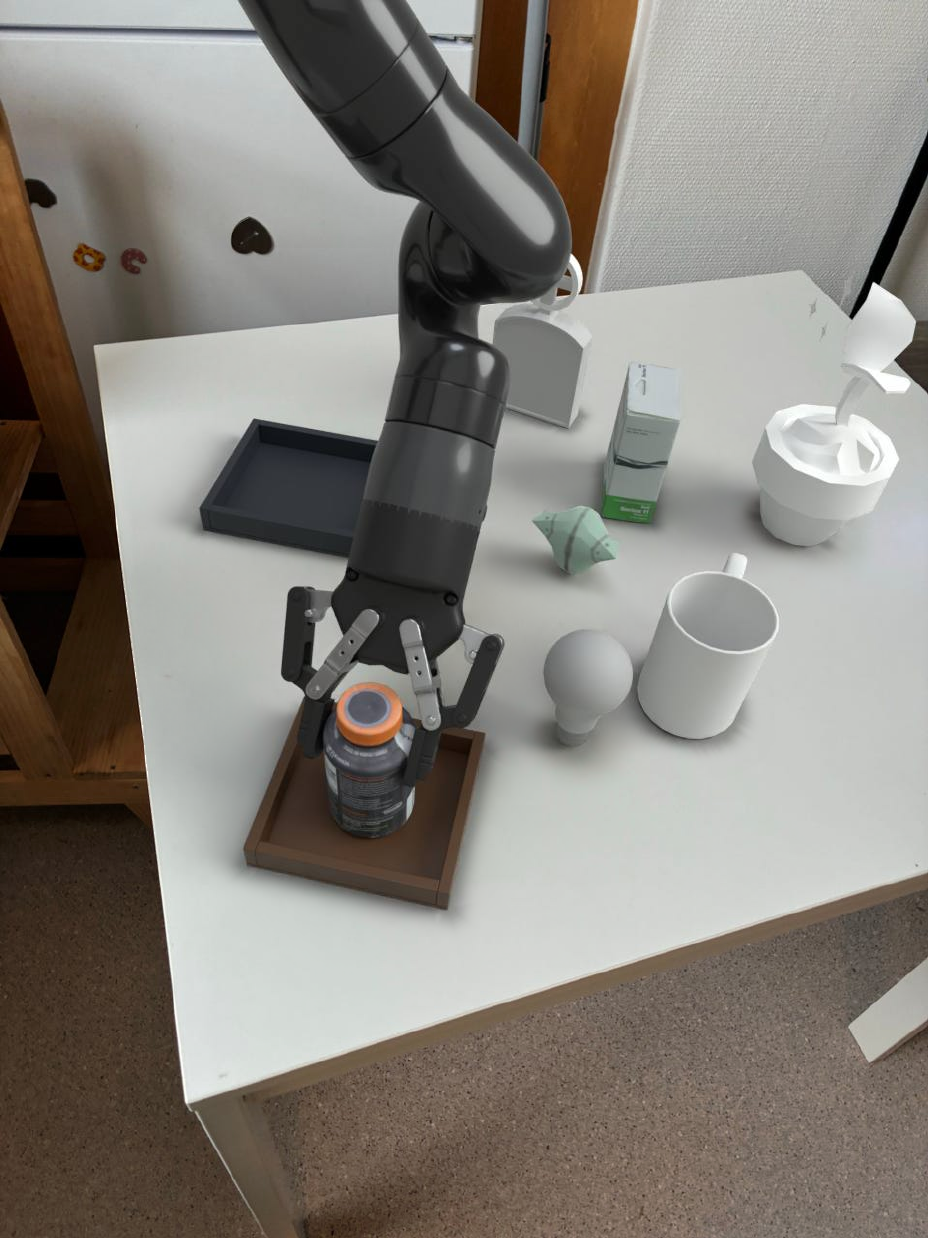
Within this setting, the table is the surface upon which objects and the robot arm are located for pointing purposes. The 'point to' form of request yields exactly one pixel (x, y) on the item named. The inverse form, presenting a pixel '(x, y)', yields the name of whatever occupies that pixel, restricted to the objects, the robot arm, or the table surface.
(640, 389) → the ink box
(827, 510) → the potted plant
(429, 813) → the near tray
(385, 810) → the pill bottle
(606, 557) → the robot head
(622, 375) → the table surface
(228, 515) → the far tray
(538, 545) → the table surface
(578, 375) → the gravestone
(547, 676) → the lightbulb
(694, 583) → the mug
